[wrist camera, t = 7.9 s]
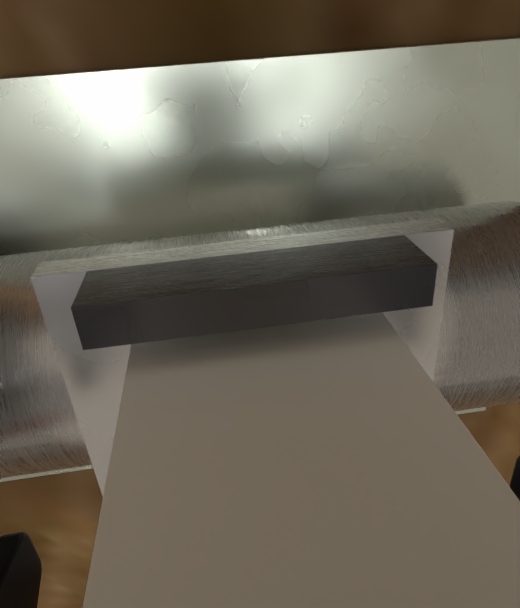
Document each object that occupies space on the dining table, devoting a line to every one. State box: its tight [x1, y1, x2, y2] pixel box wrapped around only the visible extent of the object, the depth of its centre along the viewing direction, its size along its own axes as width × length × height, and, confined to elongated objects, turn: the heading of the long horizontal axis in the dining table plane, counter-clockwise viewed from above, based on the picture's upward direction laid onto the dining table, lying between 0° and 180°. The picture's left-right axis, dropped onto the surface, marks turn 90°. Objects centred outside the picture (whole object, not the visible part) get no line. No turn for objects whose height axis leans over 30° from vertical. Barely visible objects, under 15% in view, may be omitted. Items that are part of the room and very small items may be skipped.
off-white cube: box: [83, 312, 520, 608], centre depth 9 cm, size 5×7×6 cm
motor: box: [0, 37, 520, 496], centre depth 13 cm, size 20×14×8 cm
